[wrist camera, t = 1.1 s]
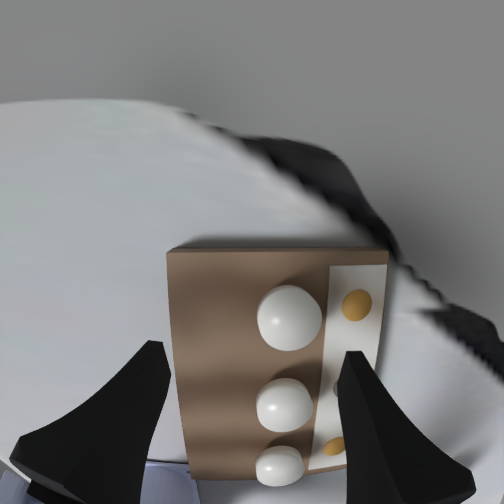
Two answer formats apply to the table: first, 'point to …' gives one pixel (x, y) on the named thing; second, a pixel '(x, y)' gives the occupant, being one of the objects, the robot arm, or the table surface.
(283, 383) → the button middle
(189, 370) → the button board
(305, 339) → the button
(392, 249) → the table surface
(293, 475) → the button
